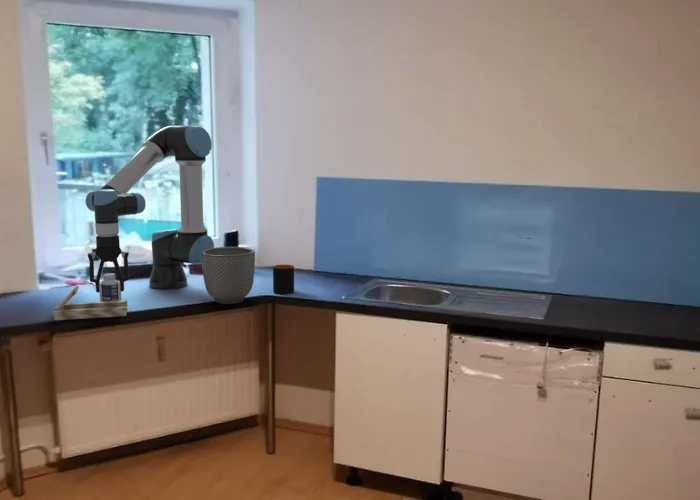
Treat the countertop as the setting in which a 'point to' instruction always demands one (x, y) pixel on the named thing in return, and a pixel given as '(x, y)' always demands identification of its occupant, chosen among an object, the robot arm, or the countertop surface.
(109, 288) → the pill bottle
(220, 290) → the planter
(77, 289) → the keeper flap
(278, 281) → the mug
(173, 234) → the robot arm
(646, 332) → the countertop surface
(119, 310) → the wooden tray
